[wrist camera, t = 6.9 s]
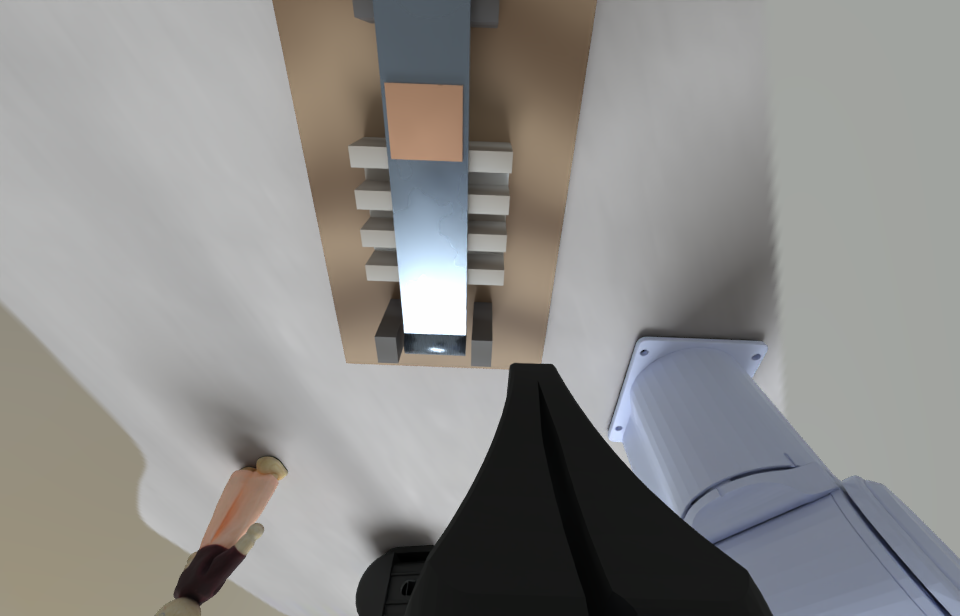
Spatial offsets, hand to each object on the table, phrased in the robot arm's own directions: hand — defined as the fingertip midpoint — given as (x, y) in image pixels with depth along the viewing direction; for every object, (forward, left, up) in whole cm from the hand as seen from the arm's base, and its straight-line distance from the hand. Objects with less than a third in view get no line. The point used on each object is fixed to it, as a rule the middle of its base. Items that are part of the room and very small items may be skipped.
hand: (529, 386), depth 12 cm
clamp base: (+3, +4, -10) cm, 11 cm away
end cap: (-37, +8, -11) cm, 39 cm away
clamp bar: (+4, +4, -8) cm, 10 cm away
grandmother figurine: (-21, +20, -11) cm, 31 cm away
